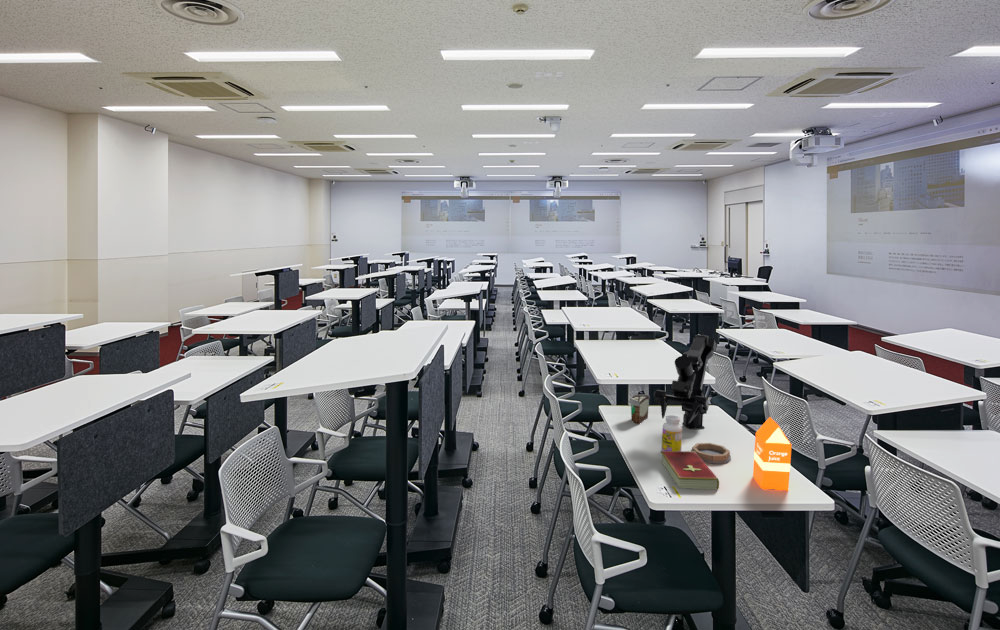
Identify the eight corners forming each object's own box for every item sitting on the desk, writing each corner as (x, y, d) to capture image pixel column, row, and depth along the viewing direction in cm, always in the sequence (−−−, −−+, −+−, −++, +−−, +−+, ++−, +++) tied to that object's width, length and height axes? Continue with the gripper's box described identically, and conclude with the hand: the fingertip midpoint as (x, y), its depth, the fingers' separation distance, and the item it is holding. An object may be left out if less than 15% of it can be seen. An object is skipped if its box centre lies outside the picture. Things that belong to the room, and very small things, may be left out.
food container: (635, 414, 230) (635, 392, 229) (648, 417, 226) (649, 394, 225) (624, 422, 220) (624, 399, 219) (638, 425, 217) (639, 401, 215)
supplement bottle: (657, 450, 191) (658, 415, 189) (672, 447, 193) (673, 413, 191) (670, 457, 184) (671, 421, 183) (685, 454, 187) (686, 419, 185)
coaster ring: (718, 448, 192) (719, 441, 192) (738, 463, 179) (738, 455, 179) (684, 449, 191) (684, 442, 190) (701, 464, 178) (701, 457, 178)
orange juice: (778, 478, 168) (782, 417, 165) (788, 491, 159) (793, 426, 156) (752, 476, 169) (756, 416, 166) (761, 489, 160) (765, 425, 158)
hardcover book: (695, 462, 181) (696, 450, 180) (718, 491, 160) (719, 477, 160) (660, 462, 181) (660, 450, 181) (678, 490, 161) (679, 477, 160)
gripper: (656, 368, 198) (645, 404, 190) (708, 375, 188) (699, 413, 180) (661, 384, 205) (651, 419, 198) (712, 391, 195) (703, 429, 187)
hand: (675, 420), depth 191 cm, fingers open, 9 cm apart
